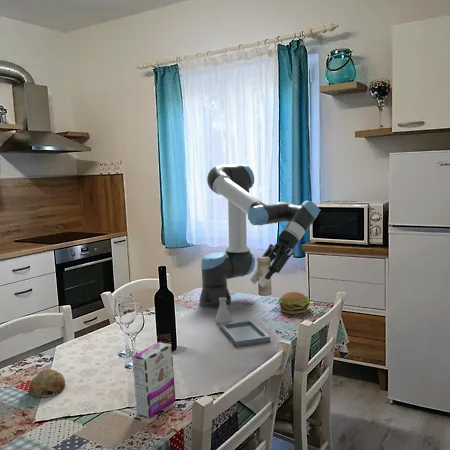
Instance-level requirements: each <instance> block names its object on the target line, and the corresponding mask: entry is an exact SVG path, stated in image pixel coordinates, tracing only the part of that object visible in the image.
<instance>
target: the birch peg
mask: <svg viewBox="0 0 450 450" xmlns="http://www.w3.org/2000/svg"><path fill="white" fill-rule="evenodd" d="M256 262H257V263H256V266H257V267H256V270H257V269H258V281H259V280H260V279H261V277H262V276H263V275H264V273H265V272H266V270H267V269H269V268H268V267H271V265H272V262H271V263H270V257H262V256H260V257H257V258H256ZM269 270H270V269H269ZM258 281H257V282H258ZM257 286H258V296H262V297H268V296H271V295H273V294H272V292H273V291H272V288H273V287H272V277H271V278H270V279H269V280H268V281H267V283H266V284H265V285H264V287H261V286H260V285H259V284H258V283H257Z"/></svg>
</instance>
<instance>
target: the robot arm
mask: <svg viewBox="0 0 450 450" xmlns="http://www.w3.org/2000/svg"><path fill="white" fill-rule="evenodd" d="M206 180H207V184H208V187H209V189H210V190H211V191H212V192H213V193H215V195H219V196H222V197H224V198H225V199H226V200H227V203H228V204H227V207H228V208H227V209H228V210H227V211H228V214H227V216H228V220H227V221H228V247H227V248H226V249H225V252H222V251H217V252H211V253H207V254H205V255H203V257H202V258H201V264H200V267H201V281H202V282H201V283H202V289H201V292H200V295H199V301H198V302H199V305H200V306H202V307H205V308H219V305H220V301H219V298H226V306H229V305H231V304H232V296H231V293H230V291H229V288H228V280H230V279H235V278H239V277H240V278H242V277H246V276H248V275H250V274H252V273H253V271H254V269H255V266H256V259H255V257H254V254H253V253H252V252H251V249H250V248H249V247H248V246H247V245H248V244H247V219H248V221H249V223H250V224H251V225H252V226H264V225H270V224H271V225H272V224H278V223H279V224H280V223H287V224H286V226H285V227H284V228H283V230H282V231H281V232H280V234H279V235H278V236H277V238H278V239H277V240H278V241H277V242H276V243H275V244H272V243H270V244H269V246H268V248H267V249H266V251H265V252H264V254H263V255H262V256H261V257H270V263H271V267H268V268H269V269H270V270H269V269H267V270H266V272H265V273H264V275H263V276H262V277H261V279H260V280H259V281H258V269H257V268H256V270H255V272H254V273H253V274H252V276H251V277H250V279H249V280H250V282H251V283H252V284H254V285H256V284H257V285H258V284H259V285H260V286H261V287H264V285H265V284H266V283H267V281H268V280H269V279H270V278H271V279H272V276H273V275H274V274H276V273H277V274H279V273H281V270H283V267H285V265H286V263H287V262H288V261H289V260H290V258H291V257H292V256H293V255H294V252H293V251H292V250H293V249H295V248H296V247H297V245H299V244H298V243H299V241H301V239H302V238H303V237H304V235H305V233H306V232H307V231H308V229H309V228H310V227H311V225H312V224H313V223H314V221H315V220H316V218H317V217H318V215H319V214H320V208H319V206H318V205H317V204H315V203H314V202H312V201H310V200H305V201H303V202H302V203H301V205H300V204H294V203H290V202H288V201H279V202H277V203H276V204H265V203H263V202H262V201H261V200H260V199H259V198H257V197H255V196H254V195H252V194H251V193H250V189H251V188H253V186H254V184H255V175H254V172H253V170H252V169H251V167H250V166H248V165H247V164H244V163H243V164H240V163H237V164H219V165H216V166H214V167H212V168H211V169H210V170H209V172H208V174H207V177H206Z"/></svg>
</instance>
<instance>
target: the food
mask: <svg viewBox="0 0 450 450" xmlns="http://www.w3.org/2000/svg"><path fill="white" fill-rule="evenodd" d="M277 301H278V305H279V307H280V311H281V312H282V313H284V314H290V315H298V314H304V313H305V312H307V311H308V307H309V306H310V298H309V296H306V295H305V294H303V293H301V292H298V291H289V292H285V293H284V294H282V295H281V297H280V298H278V300H277Z"/></svg>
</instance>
